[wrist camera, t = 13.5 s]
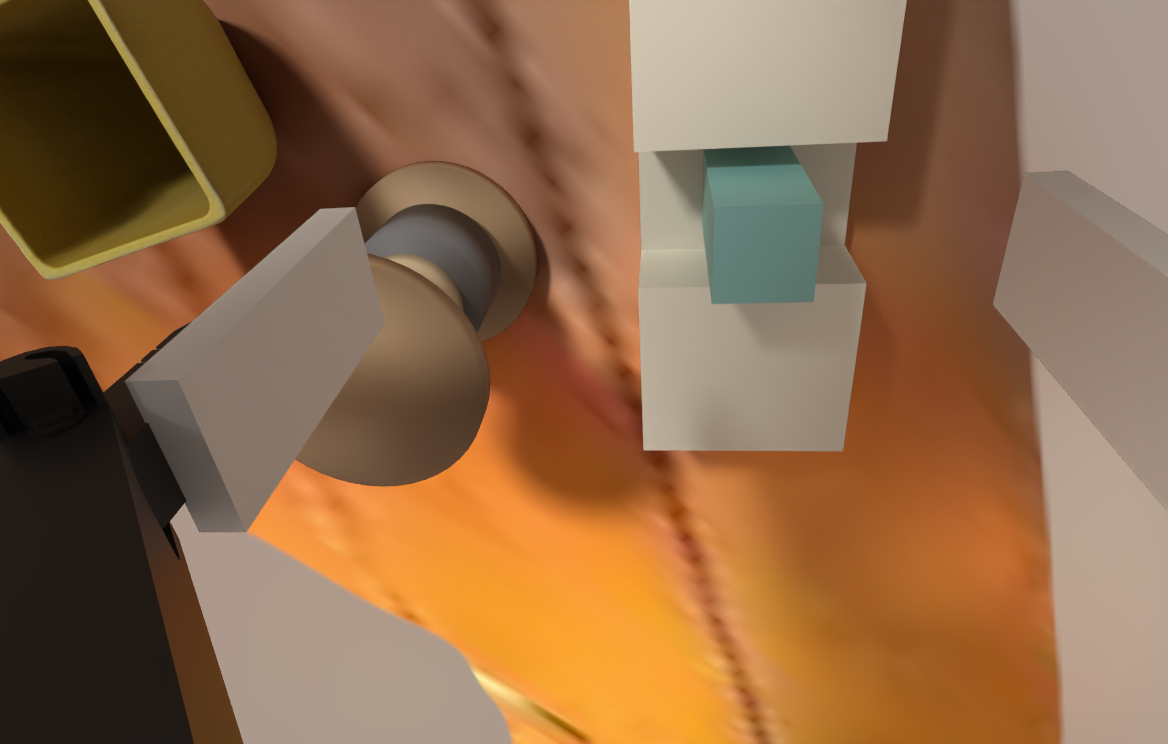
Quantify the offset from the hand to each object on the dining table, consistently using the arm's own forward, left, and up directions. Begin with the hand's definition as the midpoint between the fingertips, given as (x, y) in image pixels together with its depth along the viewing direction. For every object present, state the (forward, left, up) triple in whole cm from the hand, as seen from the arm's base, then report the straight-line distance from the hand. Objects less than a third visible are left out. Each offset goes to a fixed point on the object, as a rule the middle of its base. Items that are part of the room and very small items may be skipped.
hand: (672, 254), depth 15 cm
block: (+4, +3, -18) cm, 18 cm away
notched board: (+4, +3, -18) cm, 19 cm away
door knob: (+7, -11, -18) cm, 22 cm away
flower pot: (-1, -21, -19) cm, 28 cm away
